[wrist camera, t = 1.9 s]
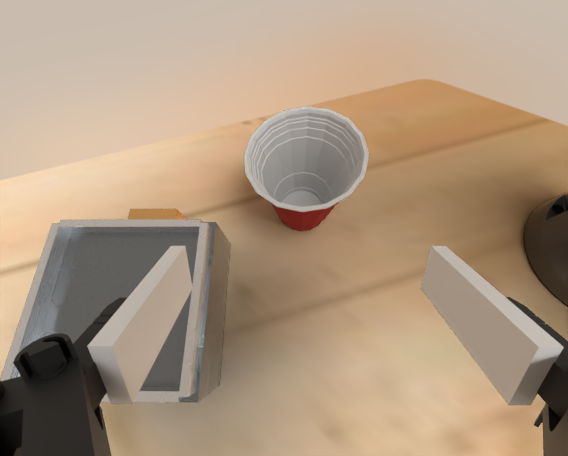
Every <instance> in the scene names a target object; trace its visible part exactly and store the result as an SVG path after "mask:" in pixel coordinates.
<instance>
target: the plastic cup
mask: <svg viewBox="0 0 568 456" xmlns="http://www.w3.org/2000/svg"><path fill="white" fill-rule="evenodd" d="M368 159H369V152H368V149H367V145H366V142H365V138H364V135H363V134H362V133H361V132H360V130H359V129H358V128H357V127H356V126H355V125H354V124H353V122H352V121H351V120H350V119H348V118H346V117H344V116H342V115H340V114H338V113H336V112H334V111H332V110H330V109H324V108H317V107H310V106H306V107H300V108H294V109H288V110H284V111H282V112H280V113H278V114H277V115H275V116H273V117H271V118H269V119H267V120H265V121H264V122H263V123H262V125H261V126H260V127H259V128H258V129H257V130H256V131H255V132H254V133H253V134H252V135H251V137H250V140H249V142H248V145H247V148H246V150H245V153H244V161H245V174H246V176H247V178H248V179H249V181H250V183H251V184H252V186H253V188H254V189H255V191H256V193H258V194H259V195H261V196H262V197H263V198H265V199H266V200H268V201H269V202H271V203H272V205H273V207H274V208H275V210H276V212H277V213H278V215H279V217H280V218H281V220H282V221H283V223H285V224H286V225H287V226H289V227H290V228H291V229H295V230H299V231H303V230H310V229H312V228H314V227H316V226H317V225H319V224H320V222H321V221H322V220H324V219H325V218H326V216H327V215H328V214H329V213H330V211H331V210H332V209H333V208H334V206H335V205H337V204H338V203H339V202H340V201H342V200H343V199H345V198H347V197H349V196H350V195H351V194H352V192H353V191H354V190H355V188H356V187H357V186H358V184H359V183H360V182H361V181H362V179H363V178H364V177H365V173H366V168H367V164H368Z"/></svg>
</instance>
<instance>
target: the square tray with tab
mask: <svg viewBox="0 0 568 456" xmlns="http://www.w3.org/2000/svg"><path fill="white" fill-rule="evenodd" d="M170 246H185V247H186V253H187V258H188V264H189V270H190V276H191V282H192V290H191V292H190V294H189V296H188V298H187V300H186V302H185V304H184V306H183V308H182V310H181V311H180V313H179V315H178V317H177V319H176V321H175V323H174V325H173V327H172V329H171V331H170V333H169V335H168V337H167V338H166V340H165V342H164V344H163V346H162V348H161V350H160V352H159V354H158V356H157V358H156V360H155V362H154V364H153V366H152V367H151V369H150V371H149V373H148V375H147V377H146V379H145V381H144V383H143V385H142V387H141V389H140V391H139V393H138V394H137V396H136V398H135V400H134V402H171V403H178V402H199V401H200V400H201V399H202V398H204V397H205V396H206V395H207V394H209V393H210V392H211V391H212V390H214V389H215V388H216V387H217V386H219V385H220V373H221V360H222V347H223V334H224V321H225V308H226V295H227V282H228V270H229V257H230V242H229V241H228V240H227V238H226V237H225V235H224V234H223V232H222V231H221V229H220V228H219V226H218V225H217V223H216V222H202V221H201V219H185V217H184V216H183V215H182V214H181V213H180V212H179V211H178V210H177V209H130V213H129V218H128V220H60V223H52V225H51V228H50V231H49V234H48V237H47V240H46V243H45V246H44V249H43V252H42V255H41V258H40V261H39V264H38V267H37V270H36V273H35V276H34V279H33V282H32V285H31V288H30V291H29V294H28V297H27V300H26V303H25V306H24V309H23V312H22V315H21V318H20V321H19V324H18V327H17V330H16V333H15V336H14V339H13V342H12V345H11V348H10V351H9V354H8V357H7V360H6V363H5V366H4V369H3V372H2V375H1V378H0V381H4V380H8V379H12V378H16V377H20V376H21V375H20V373H19V372H18V370H17V368H16V367H15V365H14V363H13V362H14V359H15V357H16V355H17V354H18V353H19V352H20V351H21V350H22V349H23V348H25V347H26V346H27V345H29V344H30V343H32V342H34V341H36V340H38V339H40V338H42V337H45V336H48V335H51V334H59V333H63V334H66V335H68V336H69V337H70V339H71V341H72V343H74V342H75V341H76V340H77V339H78V338H79V337H80V336H81V335H82V333H83V332H84V331H85V330H86V329H87V328H88V327H89V326H90V325H91V324H92V322H93V321H94V320H95V319H96V318H97V317H99V315H100V314H101V312H102V311H103V310H104V309H105V308H106V307H107V306H108V305H109V304H111V303H112V302H114V301H115V300H117V299H118V298H128V297H129V296H130V294H131V293H132V292H133V291H134V290H135V288H136V287H137V286H138V285H139V284H140V282H141V281H142V280H143V279H144V278H145V276H146V275H147V274H148V273H149V272H150V270H151V269H152V268H153V267H154V266H155V264H156V263H157V262H158V261H159V260H160V258H161V257H162V256H163V255H164V254H165V252H166V251H167V250H168V249H169V248H170ZM101 402H110V400H109V398H108V396H107V393H106V394H105V396H104V397H103V399H102V401H101Z"/></svg>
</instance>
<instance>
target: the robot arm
mask: <svg viewBox="0 0 568 456" xmlns="http://www.w3.org/2000/svg"><path fill="white" fill-rule="evenodd" d="M524 243H525V249H526V253H527V256H528V259H529V261H530V263H531V265H532V267H533V269H534V271H535V273H536V274H537V276H538V277H539V279H540V280H541V281H542V283H543V284H544V285H545V286H546V287H547V288H548V289H549V290H550V291H551V292H552V293H553V294H554V295H555V296H556V297H557V298H558V299H559V300H561V301H562V302H563V303H565V304H566V305H568V192H567V193H564V194H561V195H559V196H557V197H555V198H553V199H551V200H549V201H547V202H545V203H543V204H541V205H540V206H538V207H537V208H536V209H535V210H534V211H533V212H532V214H531V215H530V217H529V218H528V220H527V223H526V226H525V232H524ZM191 290H192V282H191V276H190V270H189V264H188V258H187V253H186V247H185V246H170V248H169V249H168V250H167V251H166V252H165V254H164V255H163V256H162V257H161V258H160V260H159V261H158V262H157V263H156V264H155V266H154V267H153V268H152V269H151V270H150V272H149V273H148V274H147V275H146V276H145V278H144V279H143V280H142V281H141V282H140V284H139V285H138V286H137V287H136V288H135V290H134V291H133V292H132V293H131V294H130V296H129V297H128V298H118V299H117V300H115V301H114V302H112V303H111V304H109V305H108V306H107V307H106V308H105V309H104V310H103V311H102V312H101V314H100V315H99V317H97V318H96V319H95V320H94V321H93V322H92V324H91V325H90V326H89V327H88V328H87V329H86V330H85V331H84V332H83V333H82V335H81V336H80V337H79V338H78V339H77V340H76V341H75V342H74V343H72V341H71V339H70V337H69V336H68V335H66V334H63V333H59V334H51V335H48V336H45V337H42V338H40V339H38V340H36V341H34V342H32V343H30V344H29V345H27V346H26V347H25V348H23V349H22V350H21V351H20V352H19V353H18V354H17V355H16V357H15V359H14V362H13V363H14V365H15V367H16V368H17V370H18V372H19V373H20V375H21V376H20V377H16V378H12V379H8V380H4V381H0V456H111V452H110V447H109V442H108V438H107V433H106V428H105V423H104V419H103V414H102V409H101V407H100V405H99V404H100V402H101V401H102V399H103V397H104V396H105V394H106V393H107V396H108V398H109V400H110V403H111V404H133V402H134V400H135V398H136V396H137V394H138V393H139V391H140V389H141V387H142V385H143V383H144V381H145V379H146V377H147V375H148V373H149V371H150V369H151V367H152V366H153V364H154V362H155V360H156V358H157V356H158V354H159V352H160V350H161V348H162V346H163V344H164V342H165V340H166V338H167V337H168V335H169V333H170V331H171V329H172V327H173V325H174V323H175V321H176V319H177V317H178V315H179V313H180V311H181V310H182V308H183V306H184V304H185V302H186V300H187V298H188V296H189V294H190V292H191ZM421 290H422V291H423V292H424V294H425V295H426V296H427V298H428V299H429V300H430V302H431V303H432V304H433V306H434V307H435V308H436V310H437V311H438V312H439V314H440V315H441V316H442V318H443V319H444V320H445V322H446V323H447V324H448V326H449V327H450V328H451V330H452V331H453V332H454V334H455V335H456V336H457V338H458V339H459V340H460V342H461V343H462V344H463V346H464V347H465V348H466V350H467V351H468V352H469V354H470V355H471V356H472V358H473V359H474V360H475V361H476V363H477V364H478V365H479V367H480V368H481V369H482V371H483V372H484V373H485V375H486V376H487V377H488V379H489V380H490V381H491V383H492V384H493V385H494V387H495V388H496V389H497V391H498V392H499V393H500V395H501V396H502V397H503V399H504V400H505V401H506V403H507V404H508V405H531V403H532V402H533V400H534V398H535V396H536V395H537V393H538V394H539V395H540V396H541V398H542V399H543V400H544V401H545V402H546V404H545V406H544V408H543V409H542V411H541V413H540V414H539V416H538V417H537V419H536V421H535V423H534V425H535V426H537V427H539V425H540V424H541V423H543V450H544V456H568V341H567V340H565V339H564V338H563V337H562V336H561V335H559V334H558V333H557V332H556V331H554V330H553V329H552V328H551V327H550V326H548V325H547V324H545V322H544V321H542V320H541V319H540V318H539V317H536V316H535V314H534V313H533V312H531V311H530V310H529V309H528V308H527V307H525V306H524V305H522V304H521V303H519V302H517V301H515V300H513V299H512V298H510V297H505V296H504V295H502V294H501V293H500V292H499V291H498V290H497V289H495V288H494V287H493V286H492V285H491V284H490V283H488V282H487V281H486V280H485V279H484V278H483V277H481V276H480V275H479V274H478V273H477V272H475V271H474V270H473V269H472V268H471V267H470V266H468V265H467V264H466V263H465V262H464V261H463V260H461V259H460V258H459V257H458V256H457V255H456V254H454V253H453V252H452V251H451V250H450V249H449V248H447V247H446V246H431V248H430V252H429V256H428V260H427V264H426V268H425V272H424V276H423V280H422V284H421Z"/></svg>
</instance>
